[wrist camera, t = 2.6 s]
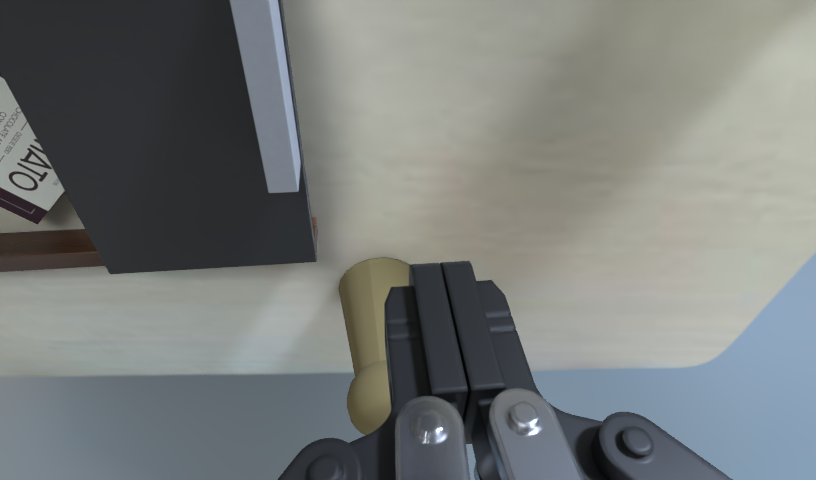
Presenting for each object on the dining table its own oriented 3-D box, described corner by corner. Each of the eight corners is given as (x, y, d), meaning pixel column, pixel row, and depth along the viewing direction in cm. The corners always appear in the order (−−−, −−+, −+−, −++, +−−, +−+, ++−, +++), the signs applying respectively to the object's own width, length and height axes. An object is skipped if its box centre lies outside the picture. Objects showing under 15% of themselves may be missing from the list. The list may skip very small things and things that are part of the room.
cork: (416, 312, 39) (437, 449, 31) (338, 314, 38) (340, 455, 30) (424, 257, 35) (451, 397, 27) (338, 258, 34) (340, 403, 26)
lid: (-228, -376, 13) (-343, -409, 11) (235, -348, 15) (216, -373, 12) (113, 267, 30) (94, 307, 27) (316, 255, 31) (315, 292, 29)
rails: (-657, -354, 14) (-786, -372, 13) (248, -307, 17) (239, -318, 15) (-102, 253, 30) (-126, 279, 29) (317, 231, 33) (316, 254, 31)
